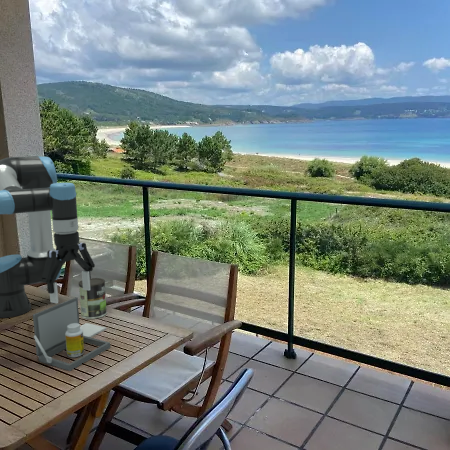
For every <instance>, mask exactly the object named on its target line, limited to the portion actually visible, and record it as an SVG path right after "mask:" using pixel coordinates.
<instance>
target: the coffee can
mask: <svg viewBox="0 0 450 450" xmlns="http://www.w3.org/2000/svg"><path fill="white" fill-rule="evenodd" d="M78 289H79V302H80V317H81V318H83V319H86V320H92V319H93V320H95V319H100V318H103V317H105V316H106V315H107V314H108V312H107V302H106V301H107V298H106V295H107V294H106V280H105V279H104V278H101V277H99V278H98V277H91V279H90V290H89V291H88V290H83V283H82V280H80V281H78Z"/></svg>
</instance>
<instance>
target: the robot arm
mask: <svg viewBox="0 0 450 450" xmlns="http://www.w3.org/2000/svg"><path fill="white" fill-rule="evenodd" d="M77 205H78V204H77V192H76V185H75V184H74V183H73V182H58V176H57V171H56V167H55V163H54V162H53V160H52V159H51V158H50V157H49V156H39V155H38V156H37V155H36V156H17V157H16V156H12V157H11V156H9V157H5V158H2V159H0V215H15V214H23V213H24V214H25V213H27V215H28V218H27V219H28V231H29V233H28V234H29V240H30V241H29V244H30V245H29V246H30V249H28V251H27V253H26V256H25V257H22V255H21V254H17V253H16V254H10V255H9V254H8V255H4V256H1V257H0V319H2V318H3V319H4V318H6V319H7V318H13V317H19V316H21V315H24V314H27V313H29V312H30V311H31V309H32V304H31V301H30V299H29V297H28V296H27V293H26V291H25V290H26V288H25V286H28V285H34V284H35V285H36V284H40V283H44V284H47V286H46V287H47V293H48V294H49V300H50V303H53V304H59V292H58V283H57V282H55V281H56V280H58V279H59V277H60V276H61V273H62V268H63V266H64V265H65V264H66V263H67V262H70V261H75V262H76V263H77V264H78V265H79V266H80V268H81V269H83V270H82V271H81V277H82V278H81V281H82V283H83V290H88V291H89V290H90V279H91V278H92V277H91V272H93V270H94V268H95V266H96V265H95V262H94V261H93V258H92V257H91V255H90V252H89V251H88V249H87V244H86V243H85V242H80V234H79V231H78V230H79V221H78V206H77ZM52 232H54V233H52ZM52 234H53V235H52ZM52 236H53V237H52ZM53 241H54V243H53ZM53 244H54V245H55V248H54V247H53Z"/></svg>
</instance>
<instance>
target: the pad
mask: <svg viewBox="0 0 450 450" xmlns="http://www.w3.org/2000/svg"><path fill="white" fill-rule="evenodd" d="M80 329H82V330H83V336H87V337H91V338H93V337H94V336H96V335H98V334H100V333H102V332H104V331H106V330H107V327H106V326H100V325H97V324H92V323H89V322H86V323H84V324H82V325H81V324H80Z"/></svg>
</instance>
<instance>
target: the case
mask: <svg viewBox="0 0 450 450" xmlns="http://www.w3.org/2000/svg"><path fill="white" fill-rule="evenodd" d="M79 312H80V311H79V300H78V297H77V296H76V297H73V298H70V299H67V300H65V301H63V302H61V303H57V304H55V305H53V306H50V307H48V308H45V309H44V310H41V311H39V312H37V313H36V312H35V313H33V314H32V318H33V319H32V320H33V331H34V335H33V339H34V341H35V343H34V344H35V351H36V353H35V354H36V356H37V357H38V362H40V363H42V364H43V363H44V364H47V365H49V366H53V367H55V366H56V368H59V369H62V370H66V371H69V372H71V371H72V369H73V370H75V369H77V368H78V367H79V365H80V366H81V365H83V364H84V362H85V363H86V362H88V361H91V358H92V359H93V358H95V357H97V356H98V355H101V354H102V353H103V352H105V351H107V350H109V349H110V348H111V342H110V341H105V340H102V339H97V338H95V337H87V336H83V340H84V343H86V344H89V343H90V345H93V344H94V346H97V347H96V348H95V349H93V350H91V351H90V352H88V353H86V354H83V355H81V356H80V357H78V358H77V359H75V360H73V361H72V362H70V363H69V362H67V361H66V362H65V361H63V360H59V359H56V358H53V356H55V355H57V354H59V353H61V352H62V351H64V350H66V337H65V333H66V331H67V326H68V325H69V324H72V323H78V324H80V313H79ZM101 352H102V353H101ZM96 355H97V356H96ZM82 363H83V364H82ZM74 368H75V369H74Z"/></svg>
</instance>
